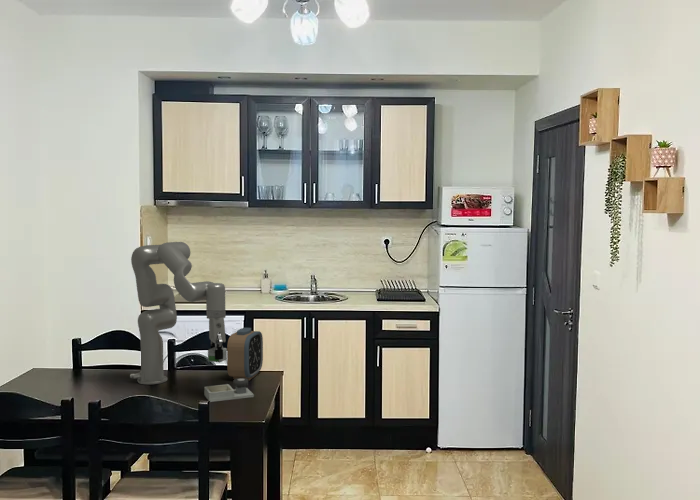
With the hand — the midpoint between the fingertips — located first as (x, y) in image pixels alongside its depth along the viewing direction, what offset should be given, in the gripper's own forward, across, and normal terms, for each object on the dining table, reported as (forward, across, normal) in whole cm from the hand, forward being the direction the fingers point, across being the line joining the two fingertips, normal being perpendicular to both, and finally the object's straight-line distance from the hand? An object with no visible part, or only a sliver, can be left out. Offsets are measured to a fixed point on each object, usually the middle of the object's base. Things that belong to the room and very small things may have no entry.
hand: (216, 356), depth 270 cm
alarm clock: (+17, +27, -18) cm, 36 cm away
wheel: (+15, 0, -10) cm, 18 cm away
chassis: (+17, 0, -5) cm, 17 cm away
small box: (+2, 0, 0) cm, 2 cm away
